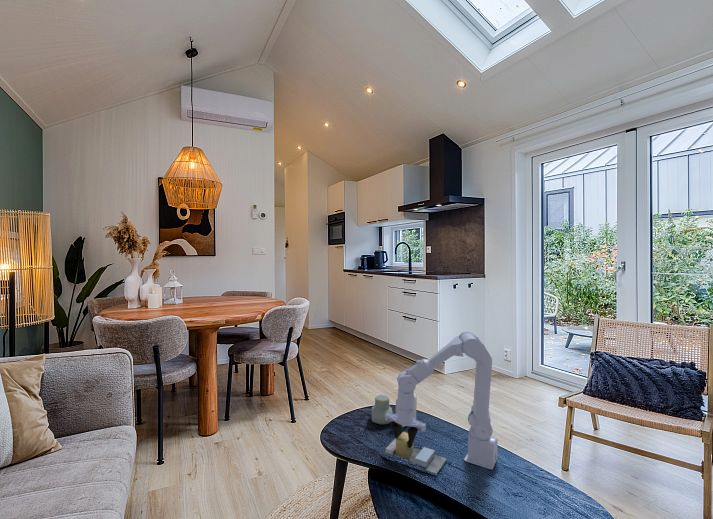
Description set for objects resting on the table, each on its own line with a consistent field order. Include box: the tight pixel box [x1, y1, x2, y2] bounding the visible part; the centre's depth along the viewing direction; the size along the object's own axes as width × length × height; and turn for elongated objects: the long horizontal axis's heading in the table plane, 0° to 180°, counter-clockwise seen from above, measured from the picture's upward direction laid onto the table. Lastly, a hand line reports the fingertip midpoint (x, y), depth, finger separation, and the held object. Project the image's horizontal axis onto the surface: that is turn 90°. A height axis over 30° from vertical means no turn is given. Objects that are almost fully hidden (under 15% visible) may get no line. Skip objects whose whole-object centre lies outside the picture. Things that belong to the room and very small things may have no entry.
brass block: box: [396, 431, 414, 459], centre depth 138 cm, size 4×6×6 cm, turn 149°
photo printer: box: [394, 392, 418, 428], centre depth 162 cm, size 10×4×12 cm, turn 134°
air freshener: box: [371, 394, 394, 425], centre depth 163 cm, size 11×8×10 cm
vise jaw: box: [415, 446, 436, 468], centre depth 135 cm, size 4×8×2 cm, turn 149°
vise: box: [384, 437, 448, 474], centre depth 137 cm, size 20×10×3 cm, turn 59°
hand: (404, 444), depth 138 cm, fingers closed on brass block, 4 cm apart
